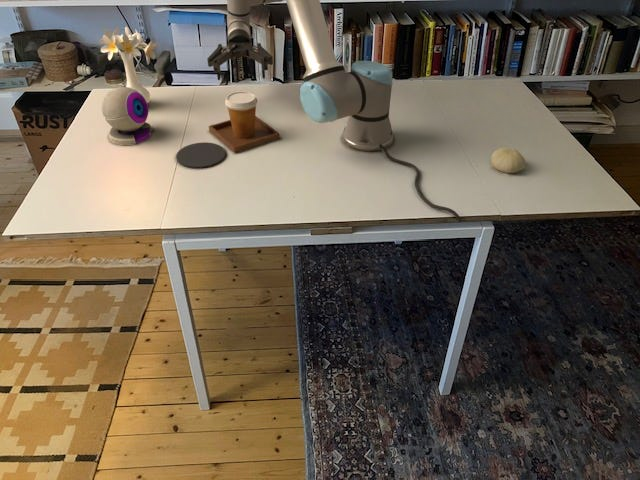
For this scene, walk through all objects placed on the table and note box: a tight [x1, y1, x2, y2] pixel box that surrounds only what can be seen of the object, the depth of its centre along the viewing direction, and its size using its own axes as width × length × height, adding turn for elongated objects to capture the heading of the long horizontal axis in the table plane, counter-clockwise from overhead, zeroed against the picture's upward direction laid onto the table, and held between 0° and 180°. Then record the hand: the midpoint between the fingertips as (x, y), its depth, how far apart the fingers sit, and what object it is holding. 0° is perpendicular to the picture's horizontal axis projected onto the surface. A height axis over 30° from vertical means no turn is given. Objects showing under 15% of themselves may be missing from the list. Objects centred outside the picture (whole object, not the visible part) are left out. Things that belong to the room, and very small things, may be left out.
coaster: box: [175, 142, 226, 169], centre depth 158 cm, size 14×14×1 cm
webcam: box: [101, 86, 154, 146], centre depth 163 cm, size 13×13×15 cm
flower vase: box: [98, 26, 159, 104], centre depth 175 cm, size 13×18×25 cm
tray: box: [208, 115, 281, 154], centre depth 167 cm, size 17×16×2 cm
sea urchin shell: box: [490, 147, 526, 174], centre depth 153 cm, size 9×8×8 cm
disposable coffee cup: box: [224, 90, 258, 139], centre depth 164 cm, size 10×10×12 cm
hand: (241, 75), depth 165 cm, fingers open, 13 cm apart
